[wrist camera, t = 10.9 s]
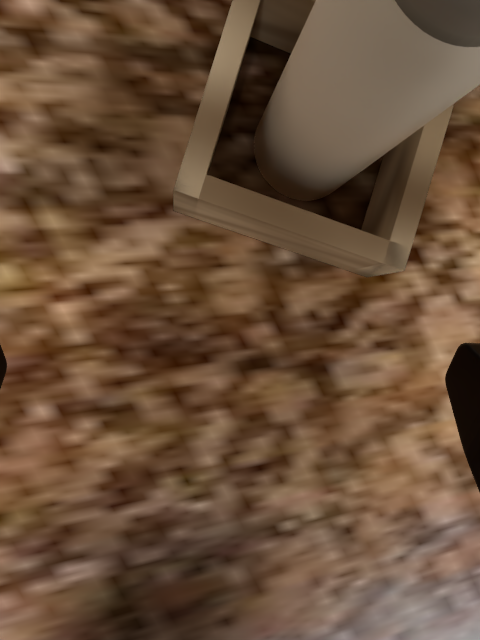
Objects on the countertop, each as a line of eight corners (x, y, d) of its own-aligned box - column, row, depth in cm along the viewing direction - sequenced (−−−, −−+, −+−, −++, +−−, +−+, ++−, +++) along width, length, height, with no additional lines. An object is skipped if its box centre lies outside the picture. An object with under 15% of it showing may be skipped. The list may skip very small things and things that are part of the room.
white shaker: (372, 140, 21) (647, -93, 9) (315, 221, 21) (522, 94, 9) (292, 74, 21) (473, -278, 8) (233, 157, 20) (328, -83, 8)
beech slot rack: (366, 277, 21) (404, 271, 18) (173, 210, 20) (173, 190, 16) (473, -79, 22) (530, -152, 18) (292, -171, 20) (316, -270, 17)
